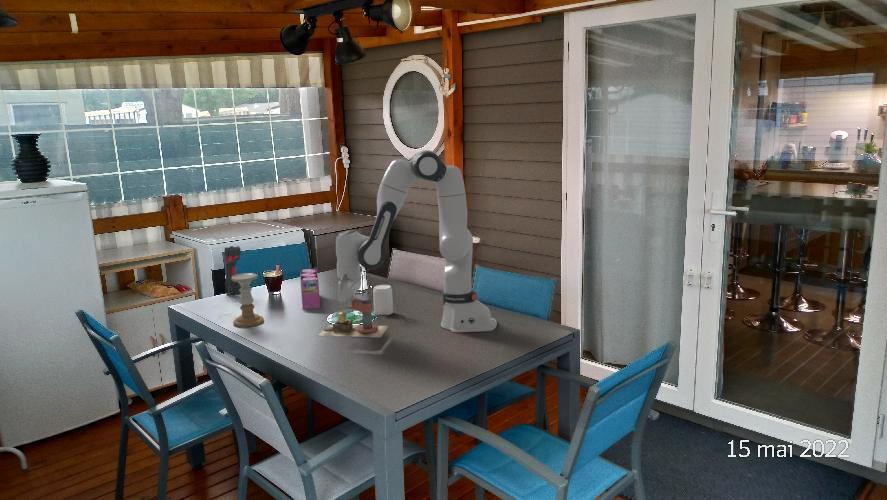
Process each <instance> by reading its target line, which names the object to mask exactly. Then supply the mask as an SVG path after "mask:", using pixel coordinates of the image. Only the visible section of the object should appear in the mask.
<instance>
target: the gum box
mask: <svg viewBox="0 0 887 500" xmlns="http://www.w3.org/2000/svg"><path fill="white" fill-rule="evenodd" d="M299 272H300V275H299V278H300V293H301V304H302V307H301V308H302V310H313V309H315V310H317V309H320V308H321V302H320V301H321V300H320V285H319V284H320V283H319V276H318V269H317V267H313V268H308V269H307V268H306V269H304V268H300V269H299Z"/></svg>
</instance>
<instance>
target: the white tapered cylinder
mask: <svg viewBox="0 0 887 500" xmlns="http://www.w3.org/2000/svg"><path fill="white" fill-rule="evenodd" d="M372 294H373V295H372V296H373V297H372V298H373V313H374V315H376V316H389V315H390V316H391V315H392V314H393V313H394V303H393V301H394V300H393V298H394V297H393V288H392V286H391V285H389V284H379V285H375V286H374V287H373V290H372Z"/></svg>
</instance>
